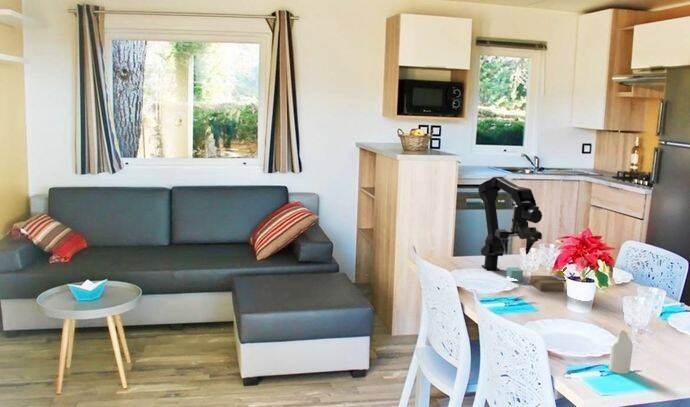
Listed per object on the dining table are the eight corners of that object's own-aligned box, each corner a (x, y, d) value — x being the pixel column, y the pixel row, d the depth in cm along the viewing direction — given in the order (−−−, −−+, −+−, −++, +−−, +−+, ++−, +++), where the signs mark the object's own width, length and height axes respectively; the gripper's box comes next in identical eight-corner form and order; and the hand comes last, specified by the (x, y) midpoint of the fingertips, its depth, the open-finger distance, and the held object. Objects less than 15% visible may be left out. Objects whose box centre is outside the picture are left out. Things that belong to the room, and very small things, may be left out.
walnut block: (529, 284, 260) (530, 275, 260) (551, 284, 262) (552, 275, 261) (540, 292, 251) (541, 282, 250) (563, 292, 252) (564, 283, 252)
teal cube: (506, 278, 267) (507, 267, 266) (517, 278, 267) (518, 267, 267) (510, 282, 262) (511, 270, 261) (521, 282, 263) (522, 270, 262)
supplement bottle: (553, 279, 269) (556, 250, 266) (552, 275, 275) (556, 247, 273) (569, 281, 267) (573, 252, 264) (568, 277, 273) (572, 249, 271)
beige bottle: (625, 335, 174) (608, 328, 179) (620, 375, 177) (603, 367, 181) (639, 332, 177) (622, 326, 182) (633, 372, 179) (617, 364, 184)
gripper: (506, 221, 251) (502, 258, 253) (549, 222, 253) (545, 259, 256) (496, 215, 261) (492, 251, 264) (538, 217, 264) (534, 252, 267)
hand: (516, 253), depth 263 cm, fingers open, 9 cm apart
